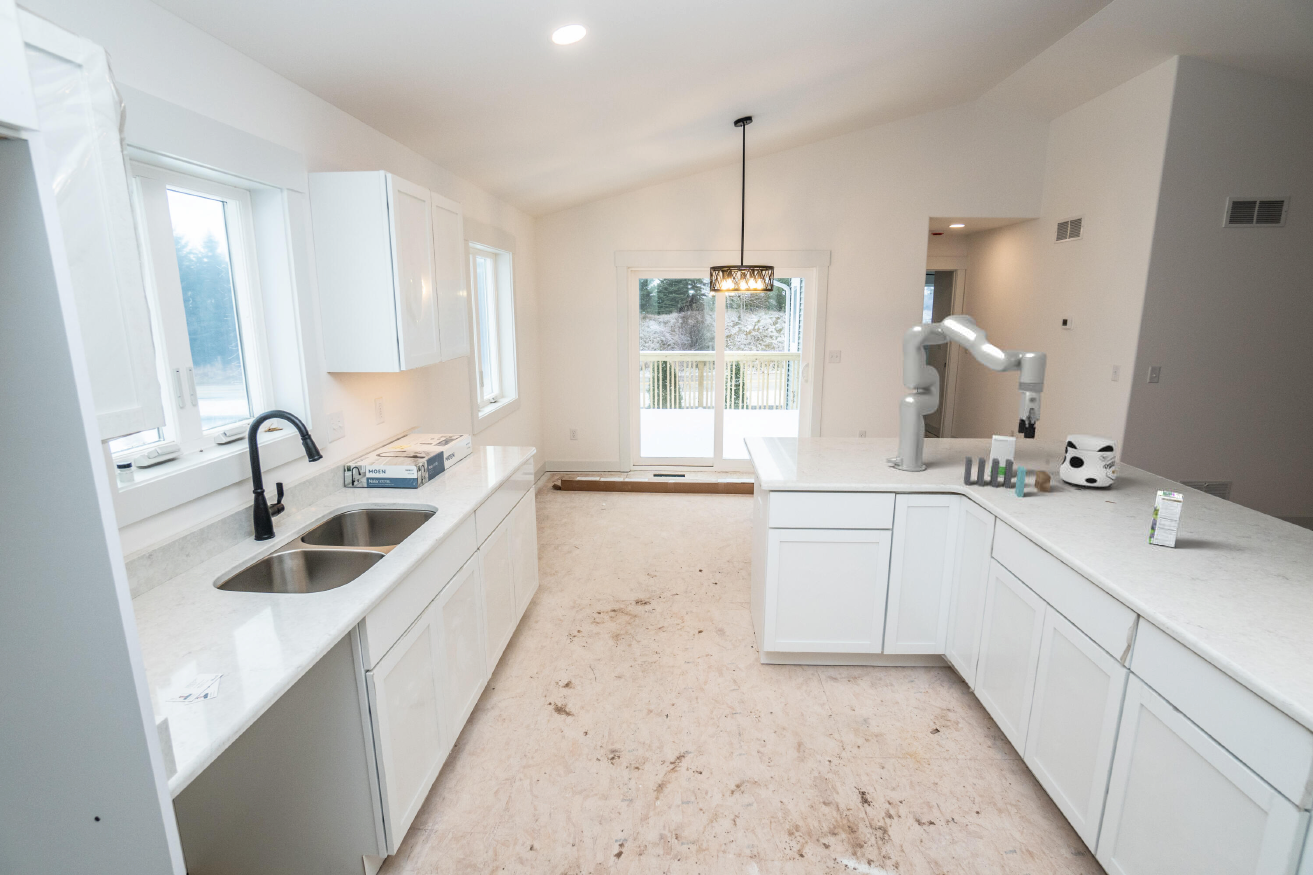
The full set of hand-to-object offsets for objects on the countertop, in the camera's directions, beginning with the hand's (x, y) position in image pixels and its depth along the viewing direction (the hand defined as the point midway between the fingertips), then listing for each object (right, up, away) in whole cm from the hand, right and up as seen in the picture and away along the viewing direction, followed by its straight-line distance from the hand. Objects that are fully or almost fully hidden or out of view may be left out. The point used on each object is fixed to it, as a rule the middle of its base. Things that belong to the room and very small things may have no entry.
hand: (1026, 435), depth 216 cm
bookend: (+11, -20, +9) cm, 24 cm away
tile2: (-8, -19, +16) cm, 26 cm away
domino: (-1, -21, +2) cm, 21 cm away
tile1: (-12, -18, +17) cm, 28 cm away
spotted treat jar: (+31, -19, +14) cm, 39 cm away
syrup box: (+12, -31, -44) cm, 55 cm away
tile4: (+1, -19, +13) cm, 23 cm away
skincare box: (+7, -16, +29) cm, 34 cm away
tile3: (-4, -19, +14) cm, 24 cm away
